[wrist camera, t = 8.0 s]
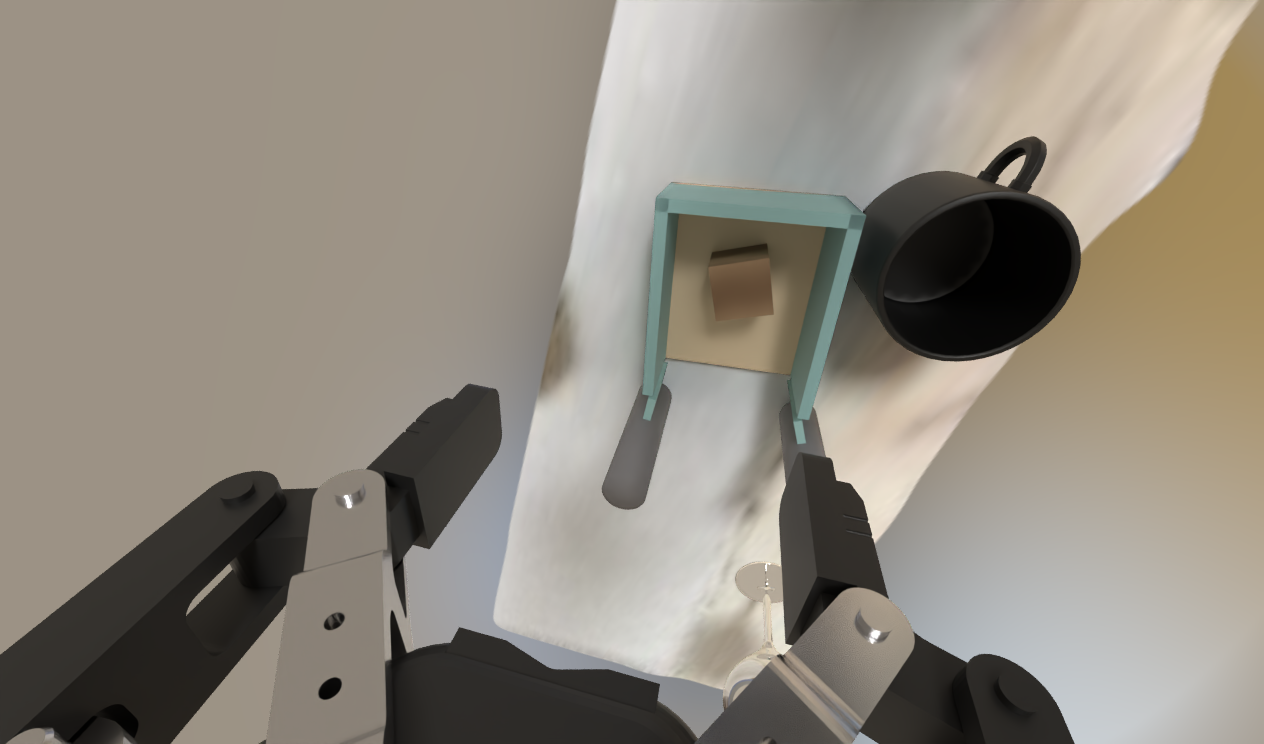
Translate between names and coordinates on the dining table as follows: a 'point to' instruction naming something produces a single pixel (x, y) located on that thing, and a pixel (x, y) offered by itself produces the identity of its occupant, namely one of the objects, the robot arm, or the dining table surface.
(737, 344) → the teal open box
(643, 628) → the dining table surface
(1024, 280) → the mug
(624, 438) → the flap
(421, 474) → the robot arm
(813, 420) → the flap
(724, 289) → the walnut block
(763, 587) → the wineglass
